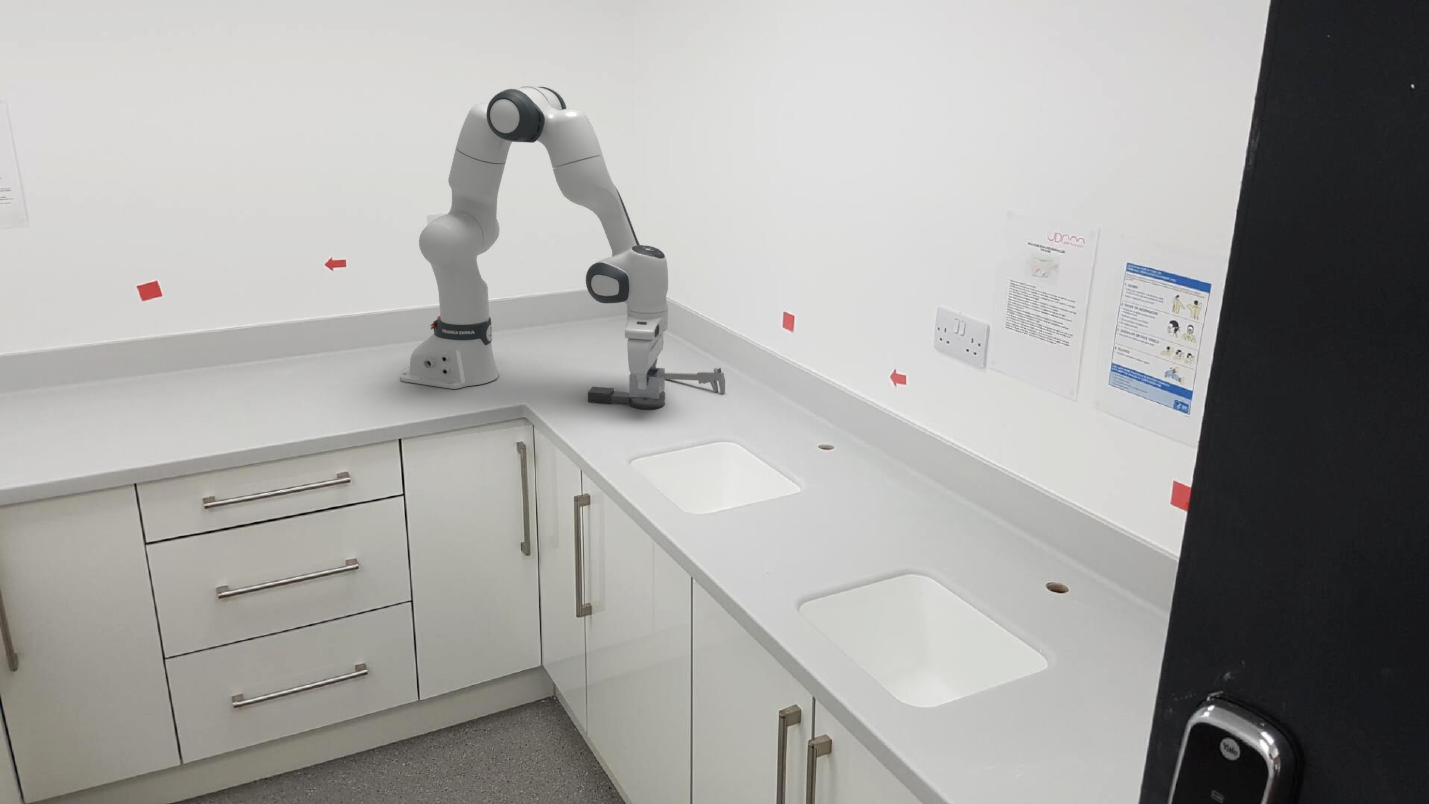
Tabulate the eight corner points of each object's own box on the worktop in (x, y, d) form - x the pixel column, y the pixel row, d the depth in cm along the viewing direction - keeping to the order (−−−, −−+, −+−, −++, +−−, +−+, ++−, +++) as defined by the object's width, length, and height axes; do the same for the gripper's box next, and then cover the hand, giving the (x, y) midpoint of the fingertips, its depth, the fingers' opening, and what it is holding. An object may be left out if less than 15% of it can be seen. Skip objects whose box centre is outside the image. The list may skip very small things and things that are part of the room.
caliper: (725, 394, 252) (725, 368, 250) (722, 395, 251) (723, 369, 249) (655, 376, 263) (655, 351, 261) (652, 377, 262) (652, 352, 260)
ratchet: (668, 399, 247) (668, 373, 245) (661, 411, 240) (661, 385, 238) (594, 393, 249) (594, 368, 247) (585, 405, 242) (585, 379, 240)
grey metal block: (629, 396, 240) (629, 375, 239) (635, 387, 247) (635, 366, 245) (658, 399, 240) (659, 377, 238) (664, 389, 246) (664, 368, 244)
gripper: (643, 308, 248) (642, 366, 252) (622, 332, 229) (622, 395, 233) (670, 310, 247) (669, 368, 252) (652, 334, 228) (651, 397, 232)
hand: (646, 381), depth 242 cm, fingers open, 8 cm apart
